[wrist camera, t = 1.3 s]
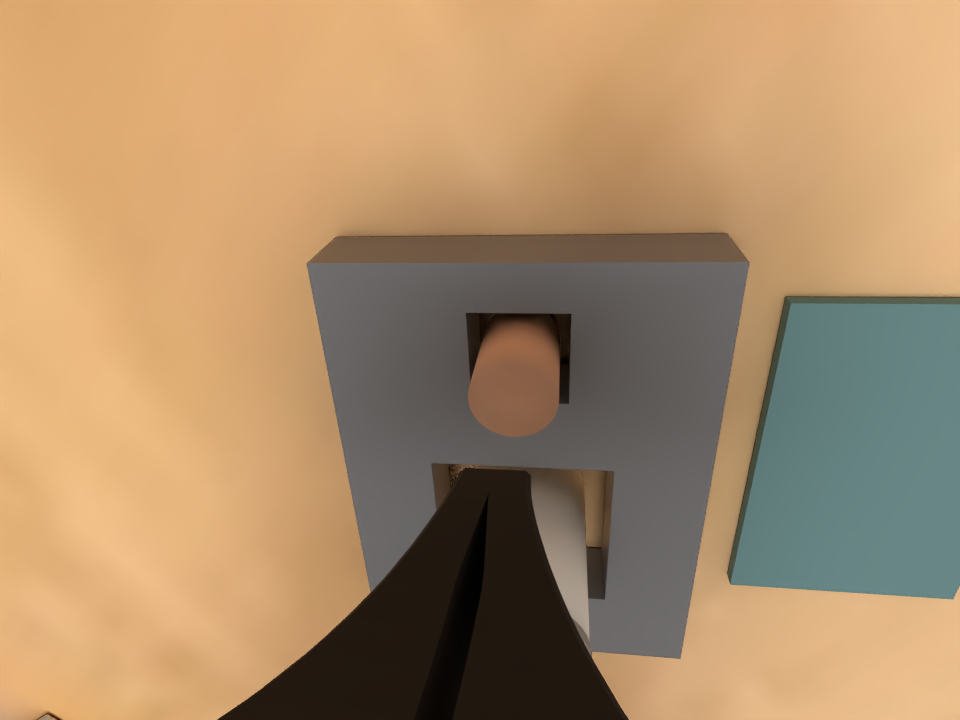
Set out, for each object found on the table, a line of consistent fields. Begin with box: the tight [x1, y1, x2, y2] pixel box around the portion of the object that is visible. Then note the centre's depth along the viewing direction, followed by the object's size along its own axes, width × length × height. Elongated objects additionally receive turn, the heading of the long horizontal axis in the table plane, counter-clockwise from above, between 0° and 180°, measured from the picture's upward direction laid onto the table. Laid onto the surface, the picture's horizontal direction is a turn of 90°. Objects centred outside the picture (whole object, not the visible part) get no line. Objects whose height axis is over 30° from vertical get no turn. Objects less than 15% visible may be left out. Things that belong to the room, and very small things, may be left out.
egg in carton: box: [468, 313, 560, 437], centre depth 17 cm, size 2×2×4 cm
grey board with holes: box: [307, 233, 749, 659], centre depth 21 cm, size 16×12×2 cm
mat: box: [727, 297, 960, 599], centre depth 20 cm, size 12×8×1 cm, turn 3°
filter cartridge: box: [474, 465, 592, 657], centre depth 20 cm, size 4×4×8 cm
